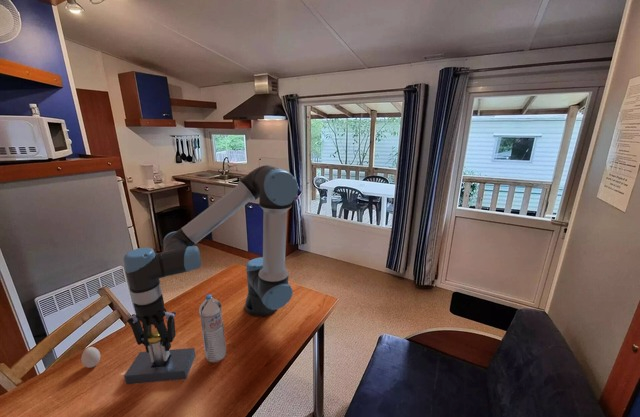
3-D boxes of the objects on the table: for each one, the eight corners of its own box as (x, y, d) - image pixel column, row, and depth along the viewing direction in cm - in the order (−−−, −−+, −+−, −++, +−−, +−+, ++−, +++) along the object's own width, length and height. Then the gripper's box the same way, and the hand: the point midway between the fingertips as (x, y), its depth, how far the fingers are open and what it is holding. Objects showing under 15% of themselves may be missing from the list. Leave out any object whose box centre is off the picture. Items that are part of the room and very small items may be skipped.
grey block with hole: (195, 355, 92) (194, 347, 91) (186, 378, 84) (184, 370, 82) (141, 359, 90) (139, 352, 89) (126, 384, 81) (123, 375, 80)
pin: (173, 362, 89) (166, 329, 85) (167, 374, 85) (160, 340, 81) (159, 363, 89) (151, 330, 84) (152, 375, 84) (144, 341, 80)
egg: (85, 364, 88) (79, 346, 86) (102, 357, 91) (97, 340, 89) (83, 374, 84) (77, 356, 82) (101, 367, 87) (96, 349, 85)
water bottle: (207, 366, 88) (197, 304, 80) (205, 351, 94) (196, 292, 86) (227, 359, 91) (221, 298, 84) (225, 345, 97) (218, 287, 89)
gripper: (180, 289, 83) (190, 347, 90) (126, 291, 81) (140, 350, 88) (170, 304, 76) (182, 365, 83) (110, 307, 74) (127, 370, 81)
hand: (160, 358), depth 85 cm, fingers closed on pin, 3 cm apart
